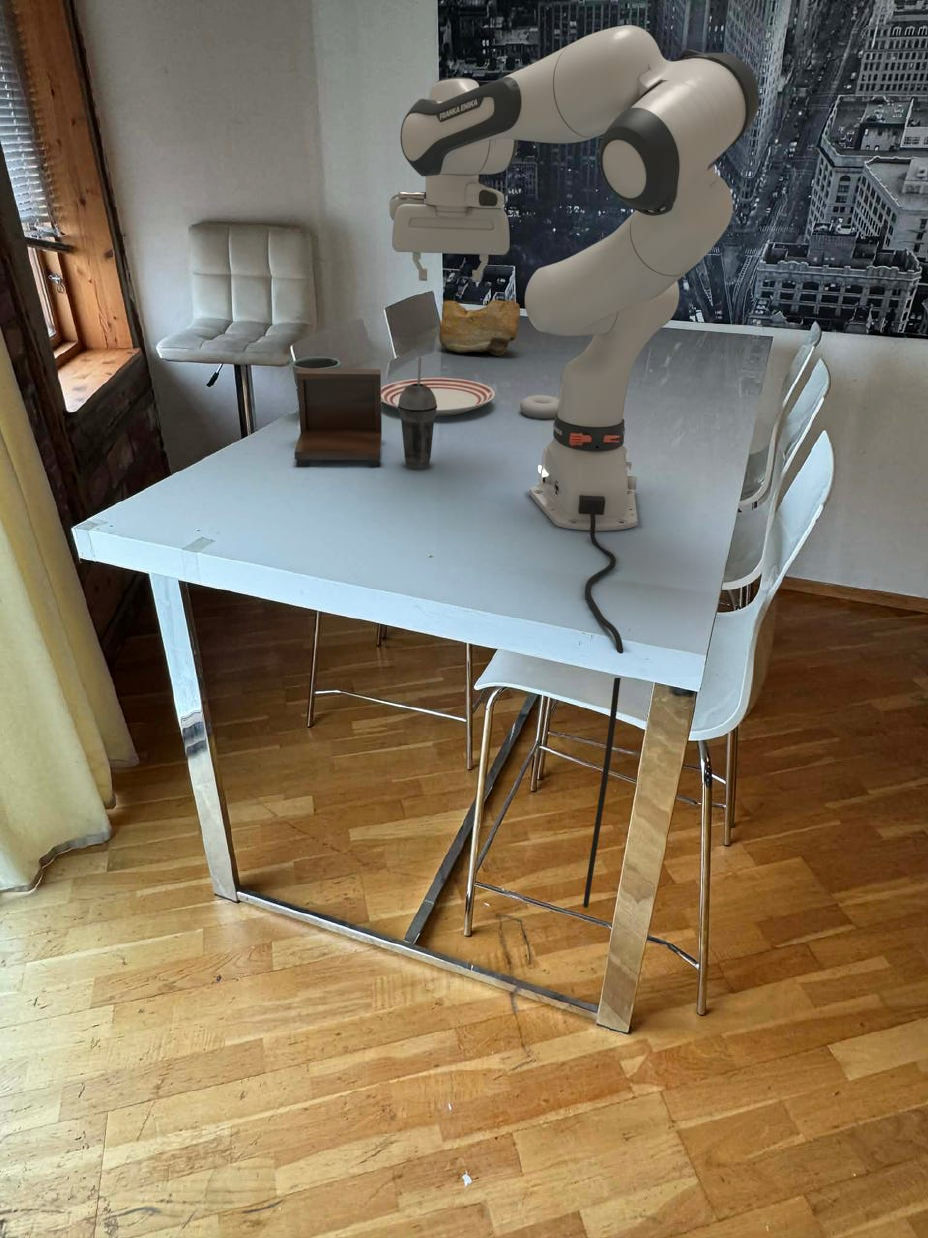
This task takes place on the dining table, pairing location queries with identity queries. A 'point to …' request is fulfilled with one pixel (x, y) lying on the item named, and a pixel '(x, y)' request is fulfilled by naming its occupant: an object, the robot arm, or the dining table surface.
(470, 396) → the dinner plate
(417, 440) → the beverage cup
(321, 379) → the shelf
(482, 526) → the dining table surface
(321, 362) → the drinking glass
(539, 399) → the donut
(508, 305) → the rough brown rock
